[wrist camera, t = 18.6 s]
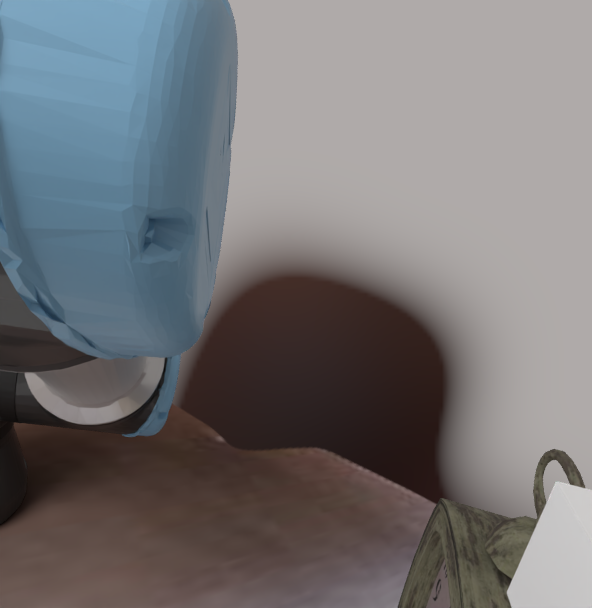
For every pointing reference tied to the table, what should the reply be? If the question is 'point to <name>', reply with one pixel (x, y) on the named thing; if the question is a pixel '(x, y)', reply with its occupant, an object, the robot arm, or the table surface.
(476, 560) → the tabletop clock
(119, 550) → the table surface
